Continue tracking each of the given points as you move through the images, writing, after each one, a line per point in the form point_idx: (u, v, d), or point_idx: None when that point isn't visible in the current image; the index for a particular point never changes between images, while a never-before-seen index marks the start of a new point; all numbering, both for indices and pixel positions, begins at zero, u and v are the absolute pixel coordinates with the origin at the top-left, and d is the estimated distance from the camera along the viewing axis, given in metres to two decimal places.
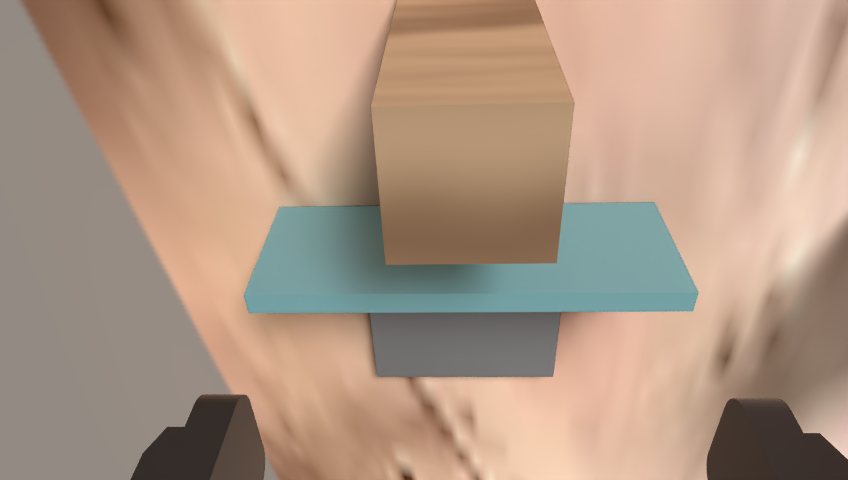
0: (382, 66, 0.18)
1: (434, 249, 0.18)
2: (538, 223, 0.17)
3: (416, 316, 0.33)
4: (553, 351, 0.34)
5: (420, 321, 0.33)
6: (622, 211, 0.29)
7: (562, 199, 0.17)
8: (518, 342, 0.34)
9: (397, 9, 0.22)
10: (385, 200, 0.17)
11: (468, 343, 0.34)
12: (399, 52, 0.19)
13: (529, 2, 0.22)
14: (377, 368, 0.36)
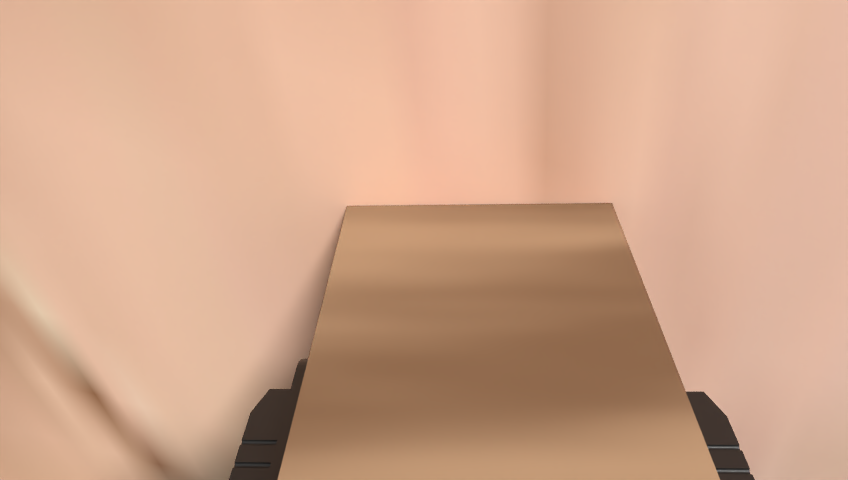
0: None
1: None
2: None
3: None
4: None
5: None
6: None
7: None
8: None
9: (328, 301, 0.10)
10: None
11: None
12: None
13: (629, 284, 0.10)
14: None
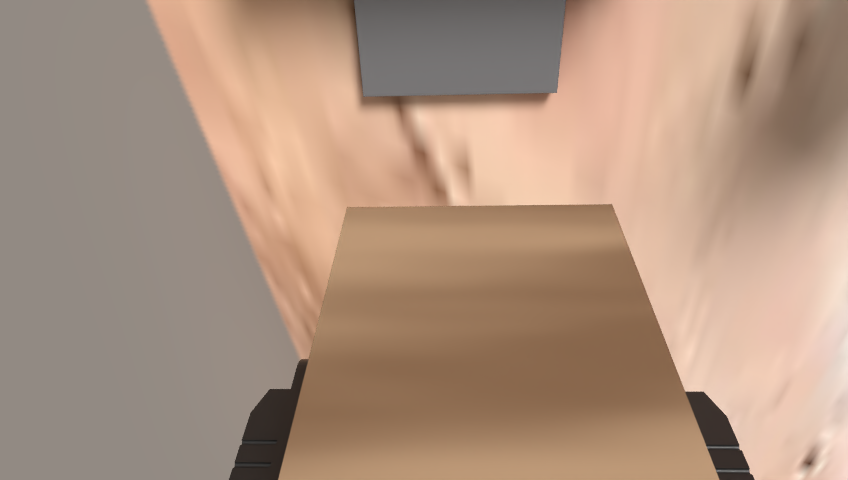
0: None
1: None
2: None
3: (405, 3, 0.30)
4: (557, 54, 0.31)
5: (410, 10, 0.30)
6: None
7: None
8: (519, 41, 0.31)
9: (329, 302, 0.10)
10: None
11: (463, 43, 0.31)
12: None
13: (629, 285, 0.10)
14: (363, 84, 0.32)
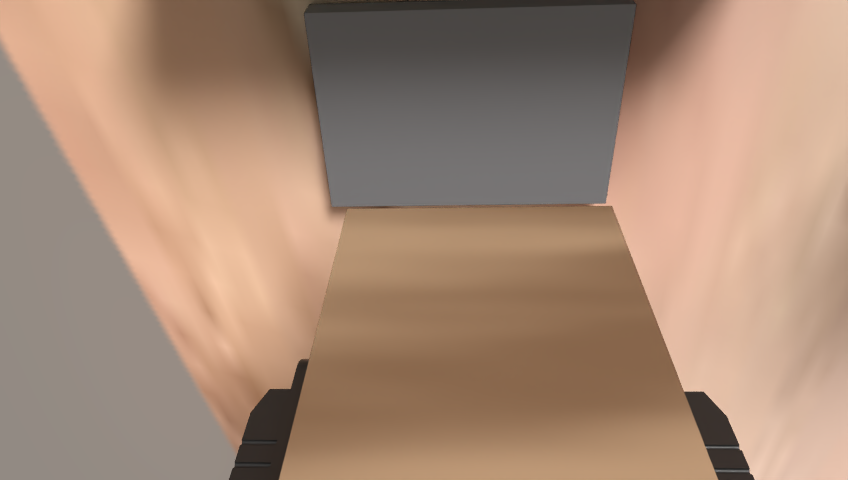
0: None
1: None
2: None
3: (389, 84, 0.20)
4: (609, 153, 0.22)
5: (396, 94, 0.21)
6: None
7: None
8: (553, 136, 0.21)
9: (329, 304, 0.10)
10: None
11: (473, 138, 0.21)
12: None
13: (629, 287, 0.10)
14: (331, 190, 0.23)
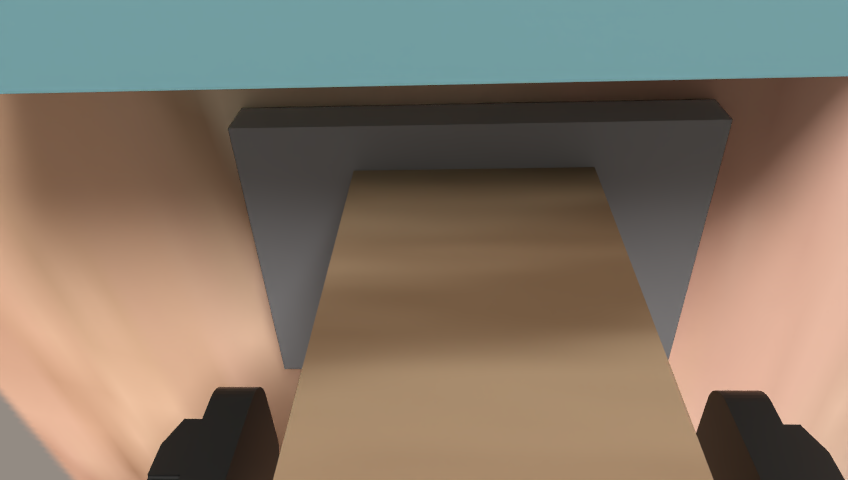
0: None
1: None
2: None
3: None
4: (675, 311, 0.15)
5: None
6: None
7: None
8: None
9: (339, 248, 0.11)
10: None
11: None
12: (314, 471, 0.07)
13: (606, 233, 0.11)
14: (282, 350, 0.16)
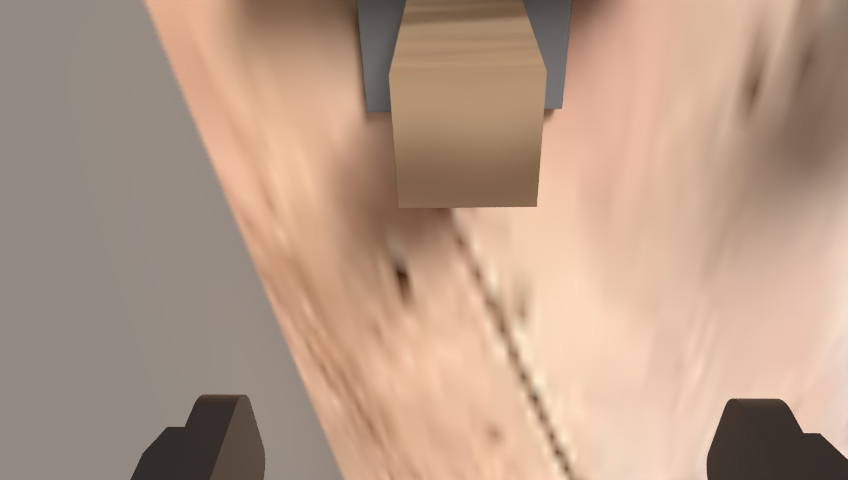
0: (396, 47, 0.22)
1: (437, 194, 0.23)
2: (521, 172, 0.22)
3: None
4: (562, 70, 0.31)
5: None
6: None
7: (539, 151, 0.21)
8: None
9: (407, 5, 0.27)
10: (399, 152, 0.22)
11: None
12: (410, 37, 0.23)
13: (517, 0, 0.27)
14: (367, 99, 0.32)
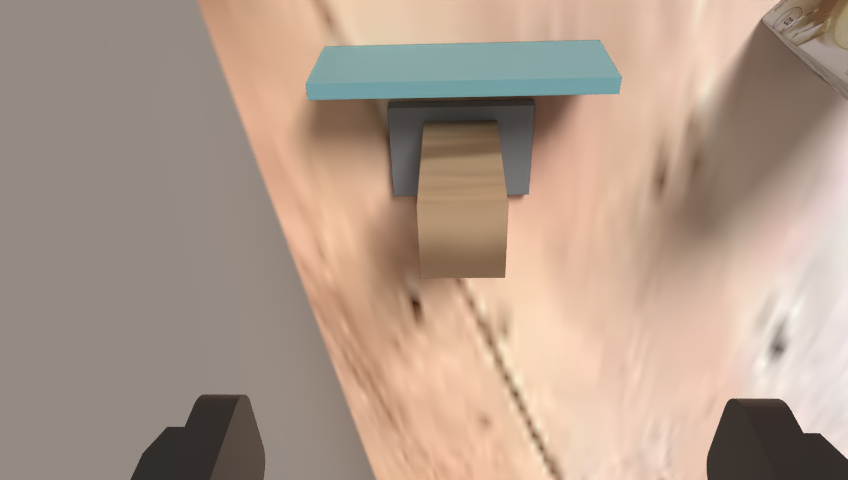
0: (419, 181, 0.37)
1: (444, 270, 0.37)
2: (495, 258, 0.36)
3: None
4: (528, 170, 0.45)
5: None
6: (575, 44, 0.40)
7: (505, 247, 0.36)
8: None
9: (423, 139, 0.41)
10: (421, 247, 0.36)
11: None
12: (427, 172, 0.37)
13: (495, 135, 0.41)
14: (394, 188, 0.47)
